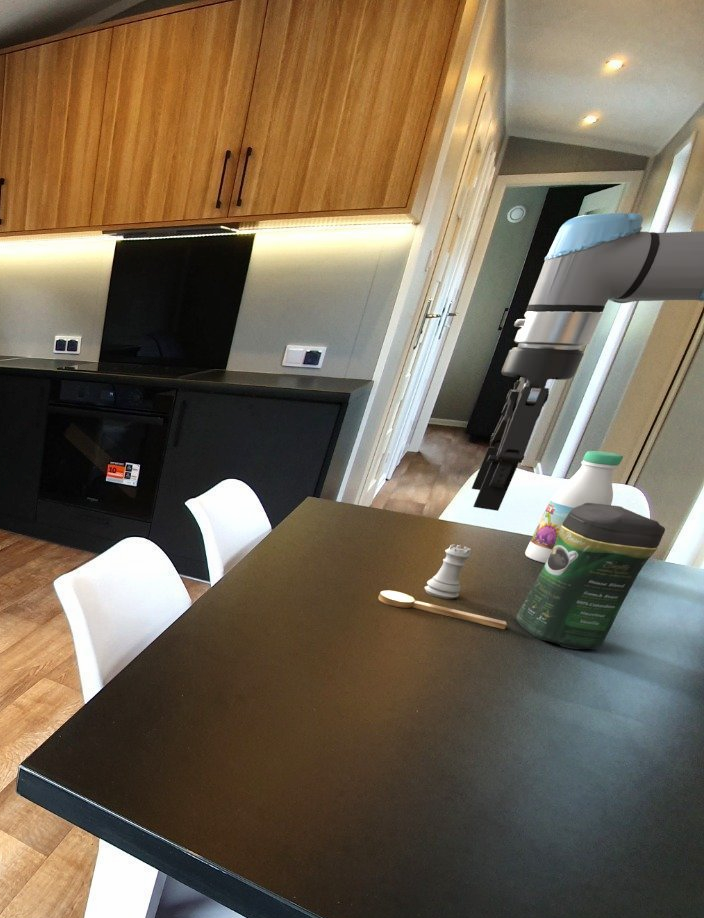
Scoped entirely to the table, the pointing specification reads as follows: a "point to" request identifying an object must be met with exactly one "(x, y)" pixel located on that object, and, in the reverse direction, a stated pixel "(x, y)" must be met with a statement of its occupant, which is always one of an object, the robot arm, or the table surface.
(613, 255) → the robot arm
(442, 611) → the wooden spoon
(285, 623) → the table surface
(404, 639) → the table surface
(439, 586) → the rook chess piece
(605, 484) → the milk bottle
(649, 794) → the table surface
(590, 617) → the coffee jar
